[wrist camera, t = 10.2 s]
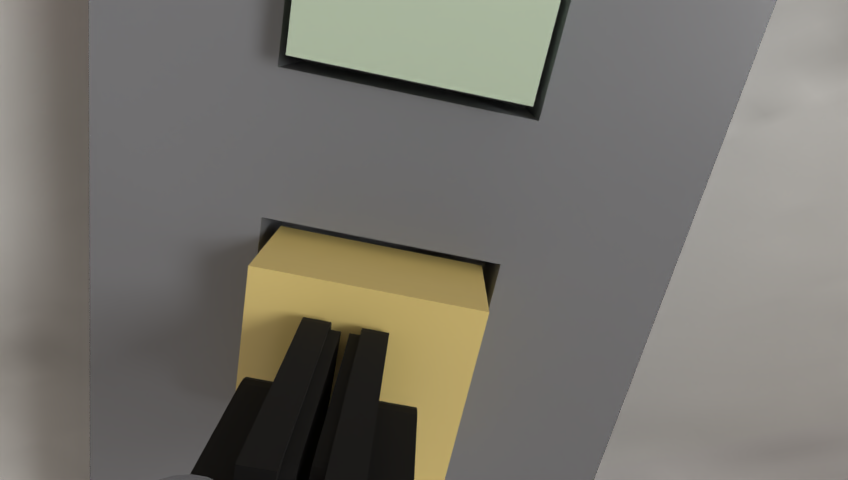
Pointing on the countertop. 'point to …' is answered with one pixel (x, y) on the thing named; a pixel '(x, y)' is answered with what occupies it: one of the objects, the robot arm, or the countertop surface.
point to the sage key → (431, 41)
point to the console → (396, 209)
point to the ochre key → (374, 322)
